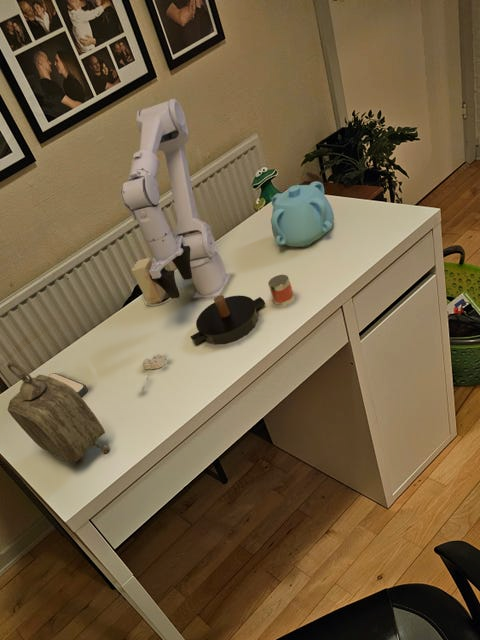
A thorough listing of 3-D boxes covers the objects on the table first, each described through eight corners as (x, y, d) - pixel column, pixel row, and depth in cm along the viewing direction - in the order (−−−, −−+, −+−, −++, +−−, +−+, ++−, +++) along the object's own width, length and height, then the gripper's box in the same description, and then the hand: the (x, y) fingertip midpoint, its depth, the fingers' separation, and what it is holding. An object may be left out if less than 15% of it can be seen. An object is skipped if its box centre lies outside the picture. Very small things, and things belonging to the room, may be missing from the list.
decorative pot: (280, 228, 155) (266, 181, 146) (336, 214, 149) (325, 165, 140) (274, 258, 144) (258, 210, 135) (334, 244, 139) (322, 193, 130)
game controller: (168, 355, 129) (164, 347, 127) (166, 387, 120) (161, 378, 119) (146, 362, 130) (141, 353, 128) (142, 394, 122) (137, 385, 120)
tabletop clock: (119, 448, 111) (51, 355, 94) (88, 481, 107) (12, 390, 90) (78, 430, 120) (10, 342, 103) (48, 460, 116) (-28, 374, 99)
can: (277, 295, 131) (271, 275, 127) (297, 293, 129) (291, 273, 125) (272, 307, 128) (265, 287, 124) (291, 306, 126) (285, 285, 122)
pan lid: (187, 323, 130) (178, 304, 127) (237, 292, 133) (229, 272, 129) (215, 347, 120) (206, 327, 116) (268, 312, 122) (261, 291, 119)
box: (162, 303, 147) (144, 267, 140) (148, 305, 149) (130, 270, 141) (167, 291, 150) (150, 256, 143) (154, 294, 152) (136, 259, 145)
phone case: (30, 398, 136) (63, 415, 126) (26, 394, 135) (59, 410, 125) (56, 375, 139) (90, 389, 129) (53, 371, 138) (87, 384, 128)
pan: (186, 335, 132) (181, 324, 130) (252, 297, 134) (248, 286, 132) (206, 360, 122) (201, 349, 120) (278, 319, 124) (274, 307, 122)
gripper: (159, 249, 112) (184, 304, 121) (186, 215, 121) (207, 268, 130) (131, 254, 115) (158, 307, 124) (160, 220, 124) (182, 272, 133)
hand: (182, 288), depth 127 cm, fingers open, 7 cm apart
